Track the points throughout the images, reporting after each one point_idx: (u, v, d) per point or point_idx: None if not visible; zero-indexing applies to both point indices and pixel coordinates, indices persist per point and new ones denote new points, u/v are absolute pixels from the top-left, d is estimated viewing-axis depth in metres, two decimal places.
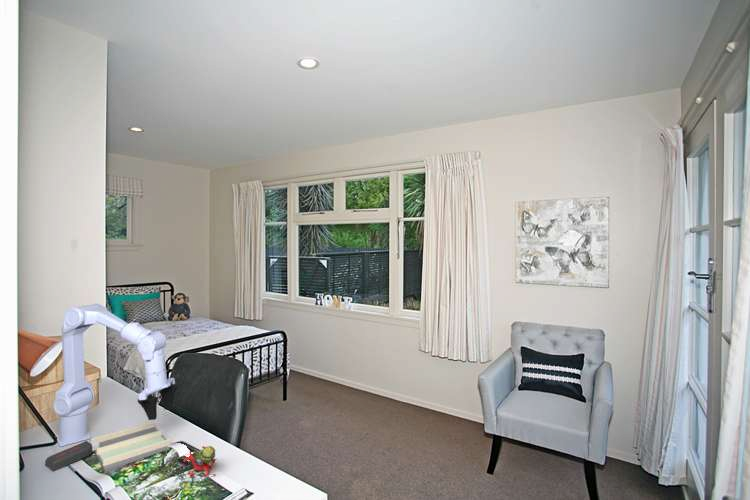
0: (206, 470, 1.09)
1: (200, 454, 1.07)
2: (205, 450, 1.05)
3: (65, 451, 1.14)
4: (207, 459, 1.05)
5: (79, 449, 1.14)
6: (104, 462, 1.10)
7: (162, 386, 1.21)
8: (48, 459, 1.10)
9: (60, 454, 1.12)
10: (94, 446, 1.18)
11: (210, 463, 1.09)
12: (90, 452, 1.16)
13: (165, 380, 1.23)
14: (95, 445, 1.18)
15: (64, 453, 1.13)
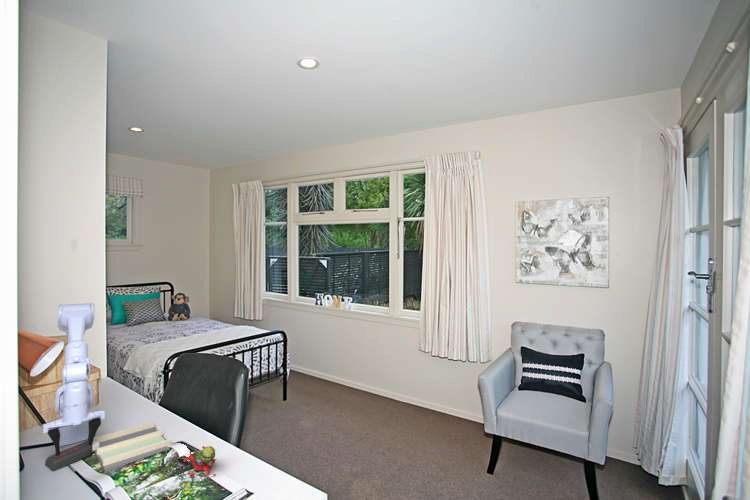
0: (206, 470, 1.09)
1: (200, 454, 1.07)
2: (205, 450, 1.05)
3: (65, 451, 1.14)
4: (207, 459, 1.05)
5: (79, 449, 1.14)
6: (104, 462, 1.10)
7: (71, 422, 1.12)
8: (48, 459, 1.10)
9: (60, 454, 1.12)
10: (94, 446, 1.18)
11: (210, 463, 1.09)
12: (90, 452, 1.16)
13: (77, 416, 1.13)
14: (95, 445, 1.18)
15: (64, 453, 1.13)
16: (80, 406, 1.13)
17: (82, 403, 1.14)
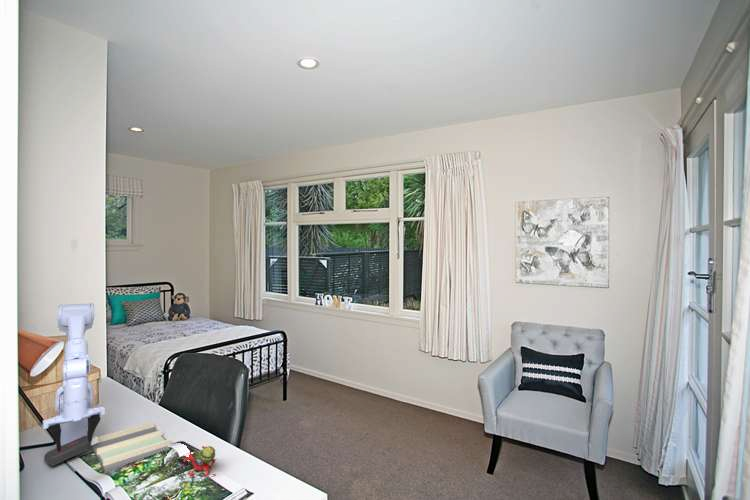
0: (206, 470, 1.09)
1: (200, 454, 1.07)
2: (205, 450, 1.05)
3: (64, 446, 1.14)
4: (207, 459, 1.05)
5: (77, 444, 1.15)
6: (104, 462, 1.10)
7: (71, 418, 1.12)
8: (47, 454, 1.11)
9: None
10: (92, 440, 1.18)
11: (210, 463, 1.09)
12: (89, 446, 1.17)
13: (77, 412, 1.13)
14: (94, 439, 1.18)
15: (62, 448, 1.13)
16: (80, 402, 1.13)
17: (82, 399, 1.14)
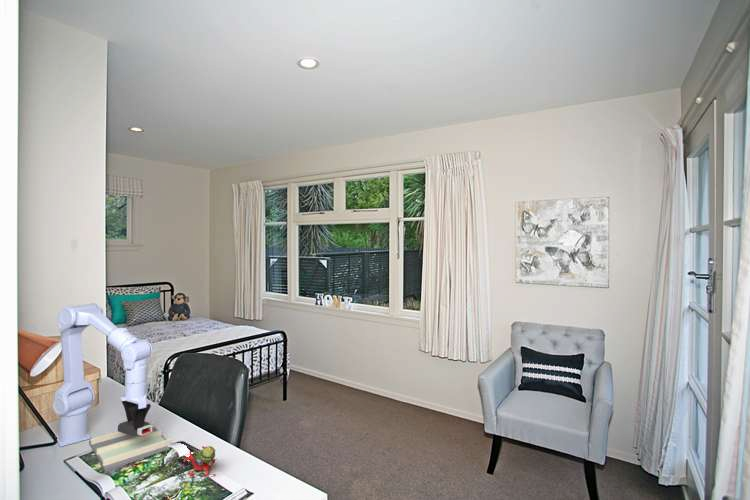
0: (206, 470, 1.09)
1: (200, 454, 1.07)
2: (205, 450, 1.05)
3: None
4: (207, 459, 1.05)
5: (131, 425, 1.19)
6: (104, 462, 1.10)
7: (124, 396, 1.19)
8: None
9: (132, 421, 1.22)
10: (138, 430, 1.17)
11: (210, 463, 1.09)
12: (133, 433, 1.17)
13: (125, 393, 1.18)
14: (139, 430, 1.16)
15: (132, 422, 1.22)
16: (126, 384, 1.17)
17: (146, 379, 1.21)
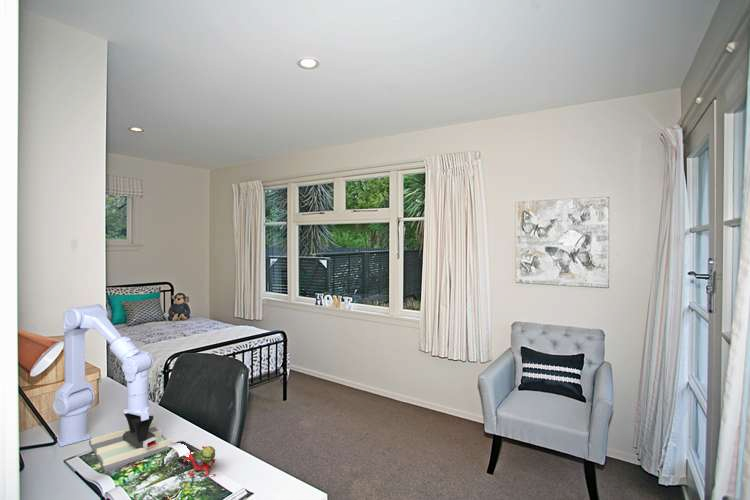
0: (206, 470, 1.09)
1: (200, 454, 1.07)
2: (205, 450, 1.05)
3: None
4: (207, 459, 1.05)
5: None
6: (104, 462, 1.10)
7: None
8: None
9: None
10: (144, 443, 1.18)
11: (210, 463, 1.09)
12: (139, 446, 1.18)
13: (127, 405, 1.18)
14: (145, 443, 1.17)
15: None
16: (128, 397, 1.18)
17: (148, 390, 1.21)
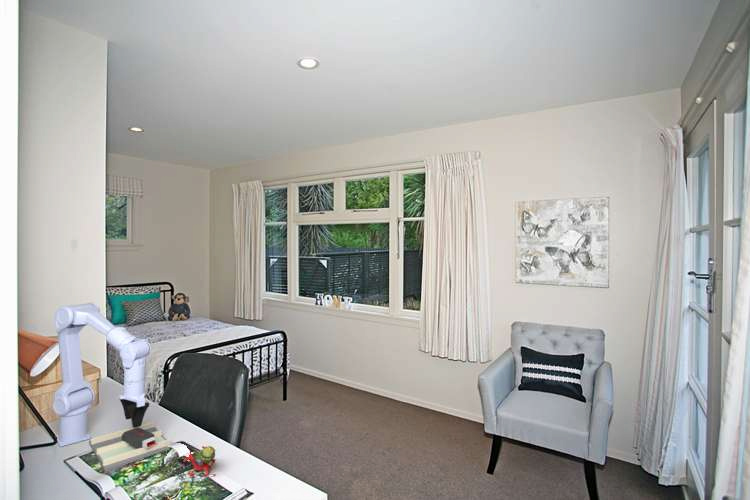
0: (206, 470, 1.09)
1: (200, 454, 1.07)
2: (205, 450, 1.05)
3: (140, 431, 1.23)
4: (207, 459, 1.05)
5: (136, 436, 1.20)
6: (104, 462, 1.10)
7: (123, 394, 1.20)
8: None
9: (136, 430, 1.23)
10: (143, 443, 1.18)
11: (210, 463, 1.09)
12: (138, 446, 1.18)
13: (124, 391, 1.19)
14: (144, 443, 1.18)
15: (136, 432, 1.22)
16: (125, 383, 1.19)
17: None
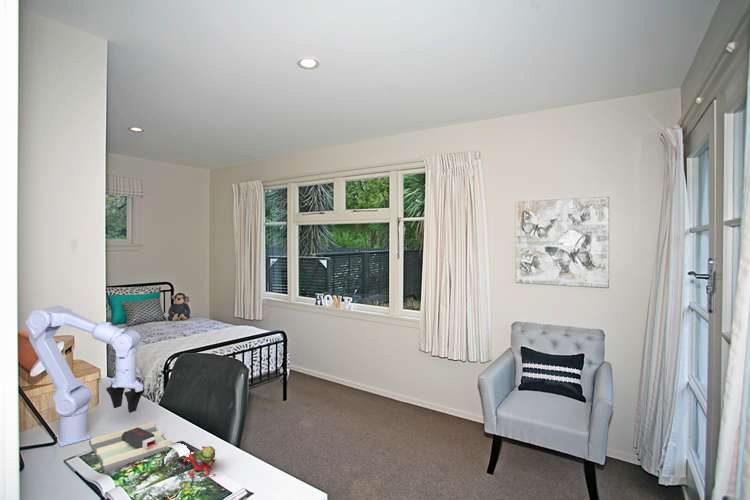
0: (206, 470, 1.09)
1: (200, 454, 1.07)
2: (205, 450, 1.05)
3: (140, 431, 1.23)
4: (207, 459, 1.05)
5: (136, 436, 1.20)
6: (104, 462, 1.10)
7: (114, 383, 1.26)
8: None
9: (136, 430, 1.23)
10: (143, 443, 1.18)
11: (210, 463, 1.09)
12: (138, 446, 1.18)
13: (117, 380, 1.26)
14: (144, 443, 1.18)
15: (136, 432, 1.22)
16: (119, 372, 1.25)
17: None
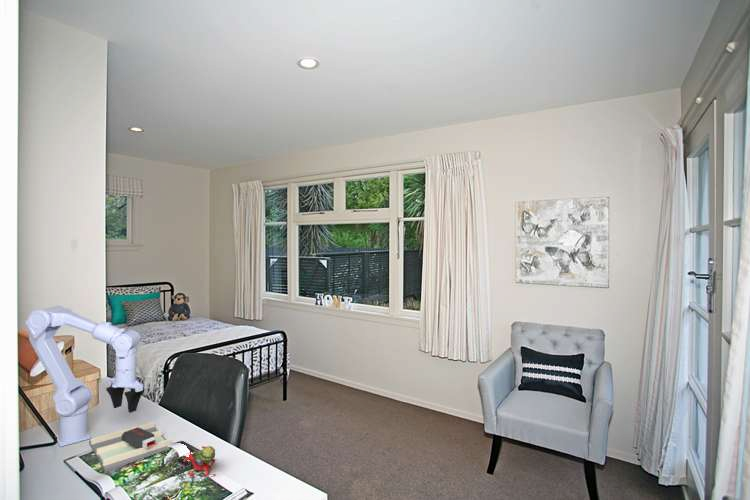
0: (206, 470, 1.09)
1: (200, 454, 1.07)
2: (205, 450, 1.05)
3: (140, 431, 1.23)
4: (207, 459, 1.05)
5: (136, 436, 1.20)
6: (104, 462, 1.10)
7: (114, 383, 1.26)
8: None
9: (136, 430, 1.23)
10: (143, 443, 1.18)
11: (210, 463, 1.09)
12: (138, 446, 1.18)
13: (117, 380, 1.26)
14: (144, 443, 1.18)
15: (136, 432, 1.22)
16: (119, 372, 1.25)
17: None
